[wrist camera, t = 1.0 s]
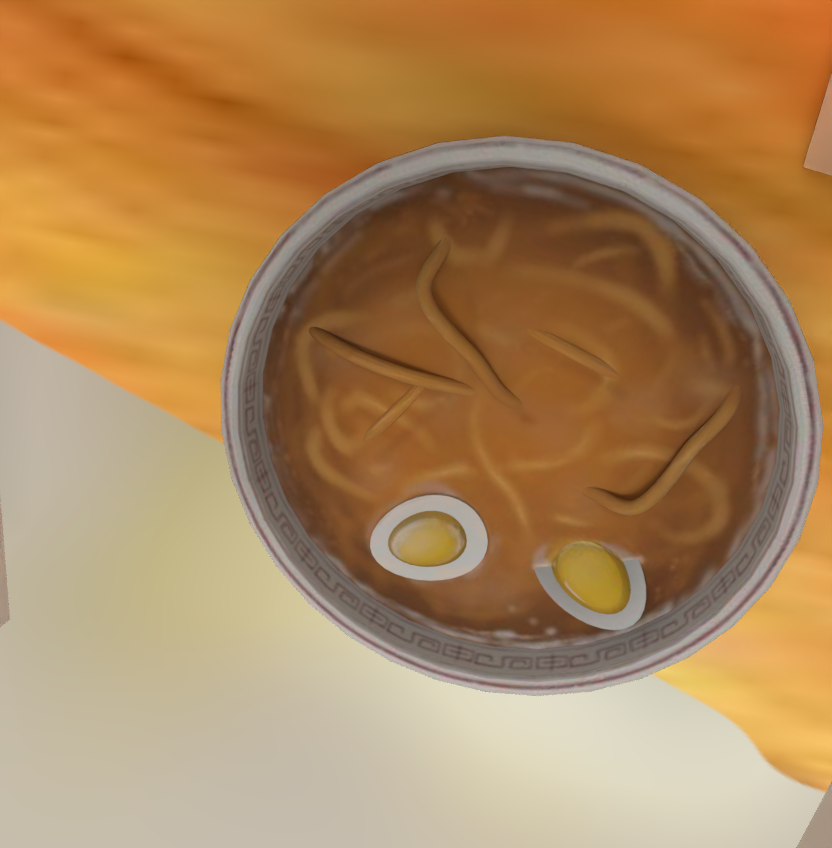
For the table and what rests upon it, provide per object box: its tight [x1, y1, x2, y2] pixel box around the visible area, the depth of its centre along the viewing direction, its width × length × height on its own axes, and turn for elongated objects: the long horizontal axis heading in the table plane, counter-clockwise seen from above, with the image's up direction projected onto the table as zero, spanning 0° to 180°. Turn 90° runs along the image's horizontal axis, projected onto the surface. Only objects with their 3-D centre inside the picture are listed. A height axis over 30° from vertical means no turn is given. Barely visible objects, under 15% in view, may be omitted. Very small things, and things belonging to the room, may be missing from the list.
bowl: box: [221, 135, 823, 696], centre depth 34 cm, size 23×23×10 cm
